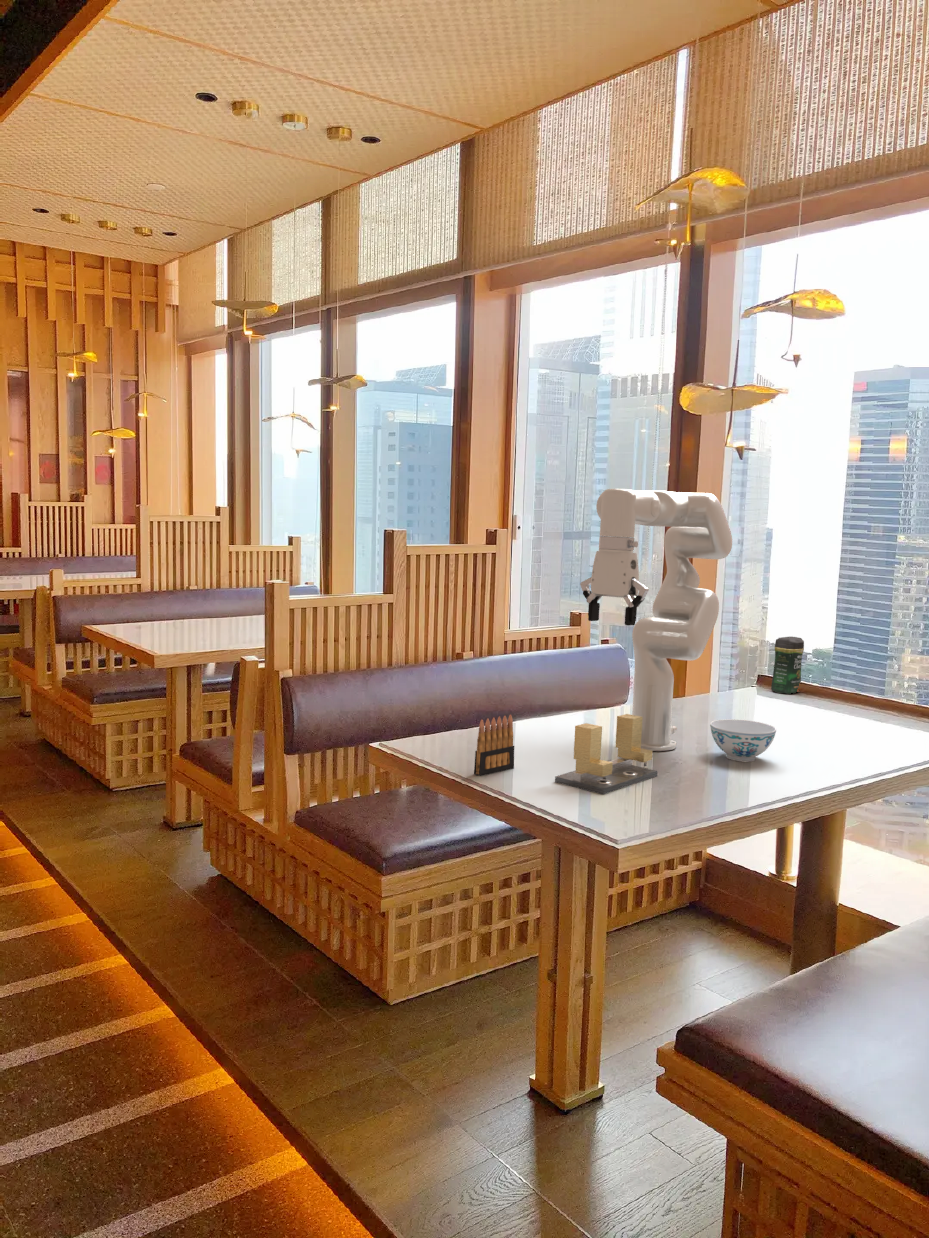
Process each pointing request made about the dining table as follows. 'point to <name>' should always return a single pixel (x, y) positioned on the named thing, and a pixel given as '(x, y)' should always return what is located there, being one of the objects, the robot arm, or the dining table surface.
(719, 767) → the dining table surface
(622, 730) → the block
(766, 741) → the chinaware
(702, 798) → the dining table surface
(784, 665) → the coffee jar
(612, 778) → the hole plate
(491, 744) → the ammunition clip
